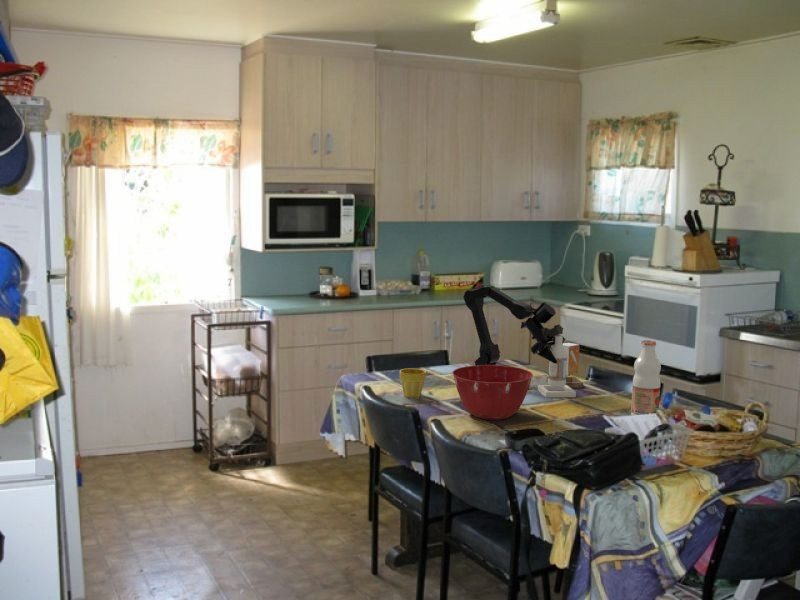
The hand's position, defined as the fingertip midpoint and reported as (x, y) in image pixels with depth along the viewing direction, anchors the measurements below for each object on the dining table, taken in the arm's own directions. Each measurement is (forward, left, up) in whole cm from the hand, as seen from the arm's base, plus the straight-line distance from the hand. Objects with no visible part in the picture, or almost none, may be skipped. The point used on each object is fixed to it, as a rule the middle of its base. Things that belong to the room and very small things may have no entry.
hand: (560, 361), depth 329 cm
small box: (+15, +39, -13) cm, 44 cm away
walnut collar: (+7, +17, -13) cm, 22 cm away
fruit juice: (+20, -37, -13) cm, 44 cm away
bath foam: (-1, +1, -10) cm, 10 cm away
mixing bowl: (-34, -30, -13) cm, 47 cm away
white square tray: (-1, +1, -13) cm, 13 cm away
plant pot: (-59, -1, -13) cm, 60 cm away
